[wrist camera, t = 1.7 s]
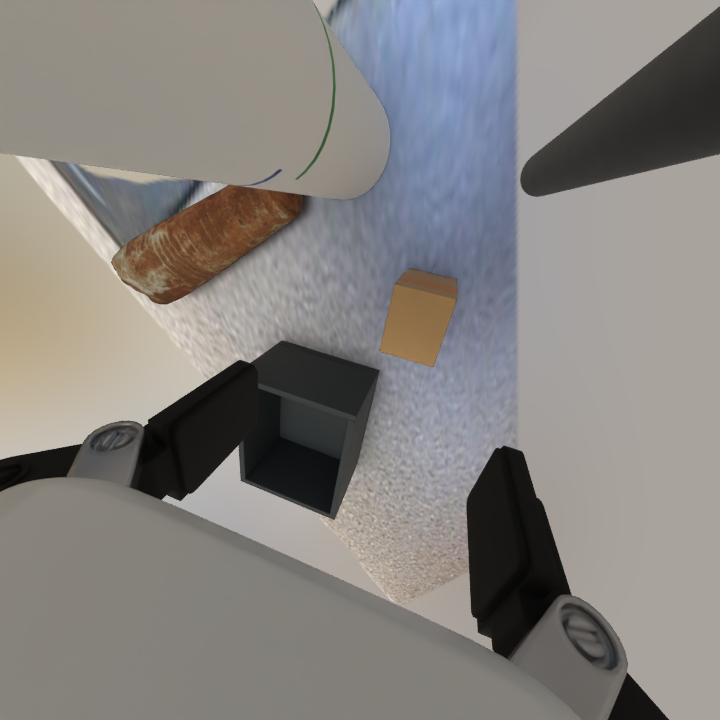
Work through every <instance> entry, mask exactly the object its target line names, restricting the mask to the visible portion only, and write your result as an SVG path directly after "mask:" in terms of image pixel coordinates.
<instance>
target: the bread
mask: <svg viewBox="0 0 720 720" xmlns="http://www.w3.org/2000/svg"><path fill="white" fill-rule="evenodd" d="M302 204H303V196H302V195H301V194H294V193H287V192H280V191H273V190H265V189H258V188H251V187H244V186H238V185H228V186H227V187H225V188H223V189H221V190H220V191H218V192H216V193H214V194H212V195H210V196H208V197H206V198H205V199H203V200H201V201H199V202H198V203H196V204H194V205H192V206H190V207H188V208H186V209H184V210H182V211H181V212H179V213H177V214H176V215H174V216H172V217H170V218H168V219H166V220H164V221H162V222H160V223H158V224H157V225H155V226H154V227H153V228H151V229H150V230H148V231H146V232H144V233H143V234H141V235H139V236H137V237H135V238H134V239H132V240H131V241H130V242H129V243H127V244H126V245H124V246H123V247H122V248H121V249H120V250H119V251H118V252H117V253H116V254H115V256H114V257H113V259H112V262H111V263H112V265H113V267H114V269H115V270H116V271H117V273H118V276H119V277H120V278H121V280H122V281H123V282H124V283H125V284H127V285H129V286H131V287H132V288H133V289H135V290H136V291H139V292H141V293H143V294H145V295H146V296H148V297H149V299H150V300H151V301H153V302H154V303H157V304H169V303H171V302H173V301H176V300H178V299H180V298H182V297H184V296H186V295H187V294H189V293H191V292H192V291H193V290H194V289H196V288H198V287H199V286H201V285H202V284H204V283H206V282H207V281H208V280H210V279H211V278H213V277H214V276H215V275H217V274H218V273H220V272H221V271H223V270H224V269H226V268H227V267H228V266H230V265H231V264H232V263H234V262H235V261H237V260H238V259H240V258H241V257H242V256H244V255H245V254H246V253H248V252H249V251H251V250H252V249H254V248H255V247H257V246H258V245H259V244H261V243H262V242H264V241H265V240H266V239H268V238H269V237H270V236H272V235H273V234H274V233H276V232H277V231H278V230H280V229H281V228H282V227H283V226H285V225H286V224H288V223H289V222H291V221H292V220H294V219H295V218H296V217H298V216H299V214H300V210H301V207H302Z"/></svg>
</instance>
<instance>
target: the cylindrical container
mask: <svg viewBox="0 0 720 720" xmlns="http://www.w3.org/2000/svg"><path fill="white" fill-rule="evenodd" d="M390 136H391V135H390V127H389V122H388V118H387V115H386V112H385V110H384V108H383V106H382V104H381V102H380V101H379V99H378V98H377V96H376V95H375V93H374V92H373V90H372V89H371V87H370V86H369V84H368V83H367V81H366V80H365V78H364V77H363V75H362V74H361V72H360V71H359V69H358V68H357V66H356V65H355V64H354V62H353V61H352V59H351V58H350V56H349V55H348V53H347V52H346V50H345V49H344V47H343V46H342V44H341V43H340V41H339V40H338V38H337V37H336V35H335V34H334V32H333V31H332V30H331V28H330V27H329V25H328V24H327V22H326V21H325V19H324V18H323V16H322V15H321V13H320V12H319V10H318V9H317V7H316V6H315V4H314V3H313V2H312V0H0V153H3V154H10V155H17V156H25V157H32V158H39V159H47V160H54V161H61V162H68V163H76V164H83V165H91V166H98V167H105V168H112V169H120V170H127V171H135V172H141V173H149V174H156V175H164V176H171V177H178V178H185V179H193V180H200V181H207V182H214V183H222V184H229V185H238V186H244V187H251V188H258V189H265V190H273V191H280V192H287V193H294V194H301V195H309V196H316V197H323V198H331V199H338V200H350V199H354V198H357V197H359V196H361V195H363V194H365V193H366V192H367V191H369V190H370V189H371V188H372V187H373V186H374V185H375V184H376V182H377V181H378V180H379V178H380V176H381V175H382V173H383V171H384V169H385V166H386V163H387V161H388V156H389V151H390Z"/></svg>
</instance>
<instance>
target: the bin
mask: <svg viewBox="0 0 720 720" xmlns="http://www.w3.org/2000/svg"><path fill="white" fill-rule="evenodd" d="M251 364H253V365H254V366H255V369H257V370H258V418H259V419H258V423H257V425H256V427H255V428H254V429H253V430H252V431H251V432H250V434H249V435H248V436H247V437H246V438H245V439H244V440H243V441H242V442H241V443H240V444H239V458H240V474H241V481H243V482H245V483H247V484H250V485H252V486H255V487H257V488H259V489H262V490H264V491H267V492H269V493H271V494H274V495H276V496H278V497H281V498H284V499H286V500H288V501H290V502H293V503H295V504H297V505H300V506H302V507H305V508H307V509H309V510H312V511H314V512H317V513H319V514H321V515H324V516H326V517H329V518H331V519H333V520H335V517H336V515H337V512H338V510H339V507H340V505H341V503H342V500H343V498H344V495H345V493H346V490H347V488H348V485H349V483H350V480H351V478H352V475H353V473H354V470H355V468H356V465H357V462H358V458H359V454H360V450H361V445H362V441H363V437H364V433H365V429H366V425H367V421H368V416H369V412H370V408H371V404H372V400H373V396H374V391H375V387H376V383H377V379H378V375H379V370H376V369H372V368H369V367H366V366H363V365H359V364H356V363H353V362H350V361H346V360H343V359H340V358H337V357H333V356H330V355H327V354H324V353H320V352H317V351H314V350H311V349H307V348H304V347H301V346H298V345H294V344H291V343H288V342H285V341H281V342H279V343H278V344H277V345H275V346H274V347H272V348H271V349H270V350H268V351H267V352H265V353H264V354H263V355H261V356H260V357H258V358H257V359H256V360H254V361H253V362H251Z"/></svg>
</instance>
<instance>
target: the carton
mask: <svg viewBox="0 0 720 720" xmlns="http://www.w3.org/2000/svg"><path fill="white" fill-rule="evenodd" d="M456 301H457V279H453V278H449V277H444V276H440V275H436V274H432V273H427V272H423V271H419V270H414V269H410V268H409V269H408V270H407V271H406V273H405V274H404V275H402V276H401V277H400V279H399V280H398V281H397V282H396V284H395V285H394V289H393V294H392V298H391V302H390V307H389V311H388V315H387V320H386V324H385V328H384V333H383V337H382V341H381V346H380V350H379V351H380V352H383V353H386V354H390V355H393V356H397V357H400V358H403V359H407V360H410V361H414V362H417V363H420V364H424V365H427V366H430V367H434V364H435V361H436V358H437V355H438V352H439V349H440V347H441V344H442V341H443V338H444V335H445V332H446V329H447V327H448V324H449V321H450V318H451V315H452V312H453V310H454V307H455V304H456Z"/></svg>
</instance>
